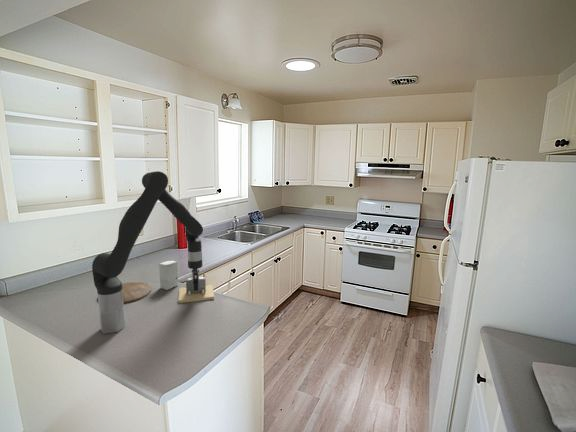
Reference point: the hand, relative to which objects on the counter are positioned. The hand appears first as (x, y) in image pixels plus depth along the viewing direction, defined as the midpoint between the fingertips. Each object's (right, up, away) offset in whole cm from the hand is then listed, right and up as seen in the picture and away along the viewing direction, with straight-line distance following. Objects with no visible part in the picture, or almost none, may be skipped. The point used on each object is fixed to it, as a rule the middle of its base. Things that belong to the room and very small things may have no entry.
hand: (196, 288), depth 165 cm
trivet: (-39, -3, 0) cm, 39 cm away
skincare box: (-19, -2, +10) cm, 22 cm away
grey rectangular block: (0, -1, 0) cm, 1 cm away
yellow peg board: (0, -4, +1) cm, 4 cm away
